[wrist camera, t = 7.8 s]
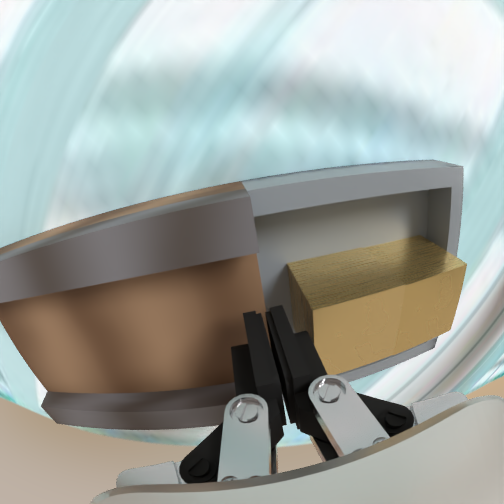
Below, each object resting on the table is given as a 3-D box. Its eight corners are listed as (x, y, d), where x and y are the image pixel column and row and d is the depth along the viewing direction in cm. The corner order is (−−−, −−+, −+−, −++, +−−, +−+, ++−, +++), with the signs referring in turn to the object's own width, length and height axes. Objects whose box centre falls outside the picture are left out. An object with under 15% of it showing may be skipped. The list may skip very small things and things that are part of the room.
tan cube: (419, 234, 14) (466, 264, 10) (413, 294, 15) (450, 330, 12) (361, 248, 13) (405, 285, 10) (359, 311, 15) (392, 355, 11)
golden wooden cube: (361, 247, 13) (405, 284, 10) (359, 310, 15) (392, 355, 11) (287, 262, 13) (312, 310, 10) (293, 327, 15) (314, 380, 11)
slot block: (241, 181, 12) (250, 195, 9) (273, 371, 17) (284, 413, 14) (-8, 251, 11) (-41, 276, 8) (69, 390, 16) (56, 423, 13)
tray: (433, 159, 13) (463, 166, 10) (416, 327, 17) (434, 347, 15) (241, 181, 12) (247, 190, 10) (273, 371, 17) (281, 400, 14)
